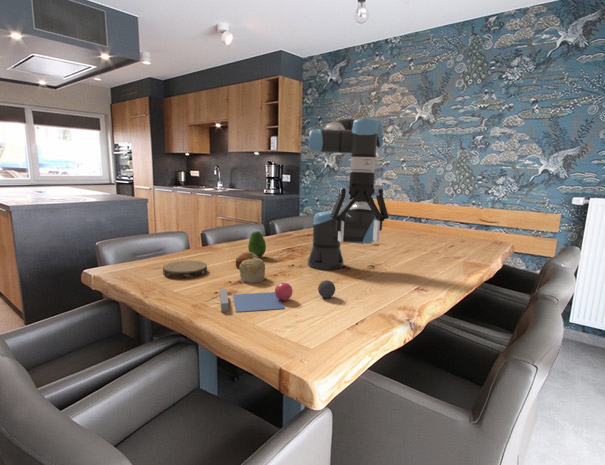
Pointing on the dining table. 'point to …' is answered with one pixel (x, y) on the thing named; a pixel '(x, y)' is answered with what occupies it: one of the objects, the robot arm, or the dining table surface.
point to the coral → (252, 270)
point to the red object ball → (283, 291)
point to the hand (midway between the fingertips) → (358, 241)
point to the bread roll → (244, 258)
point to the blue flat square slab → (257, 302)
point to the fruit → (257, 244)
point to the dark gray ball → (326, 289)
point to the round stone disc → (184, 269)
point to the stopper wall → (224, 300)
